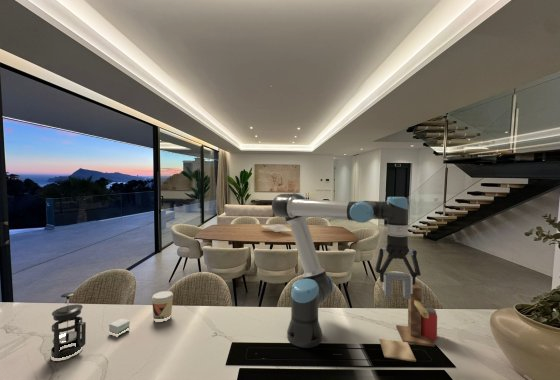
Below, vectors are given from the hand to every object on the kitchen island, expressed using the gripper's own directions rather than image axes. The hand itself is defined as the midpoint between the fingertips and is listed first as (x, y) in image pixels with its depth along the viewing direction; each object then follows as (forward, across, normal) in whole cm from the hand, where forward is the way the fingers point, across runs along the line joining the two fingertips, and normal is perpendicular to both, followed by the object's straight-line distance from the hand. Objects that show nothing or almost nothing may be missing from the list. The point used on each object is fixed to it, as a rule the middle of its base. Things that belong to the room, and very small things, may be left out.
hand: (397, 291), depth 98 cm
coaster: (+24, 0, 0) cm, 24 cm away
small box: (+24, -117, -16) cm, 121 cm away
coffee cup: (+24, -107, -2) cm, 110 cm away
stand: (+24, +10, +8) cm, 27 cm away
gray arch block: (+2, 0, 0) cm, 2 cm away
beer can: (+24, +16, +13) cm, 32 cm away
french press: (+24, -124, -32) cm, 131 cm away
